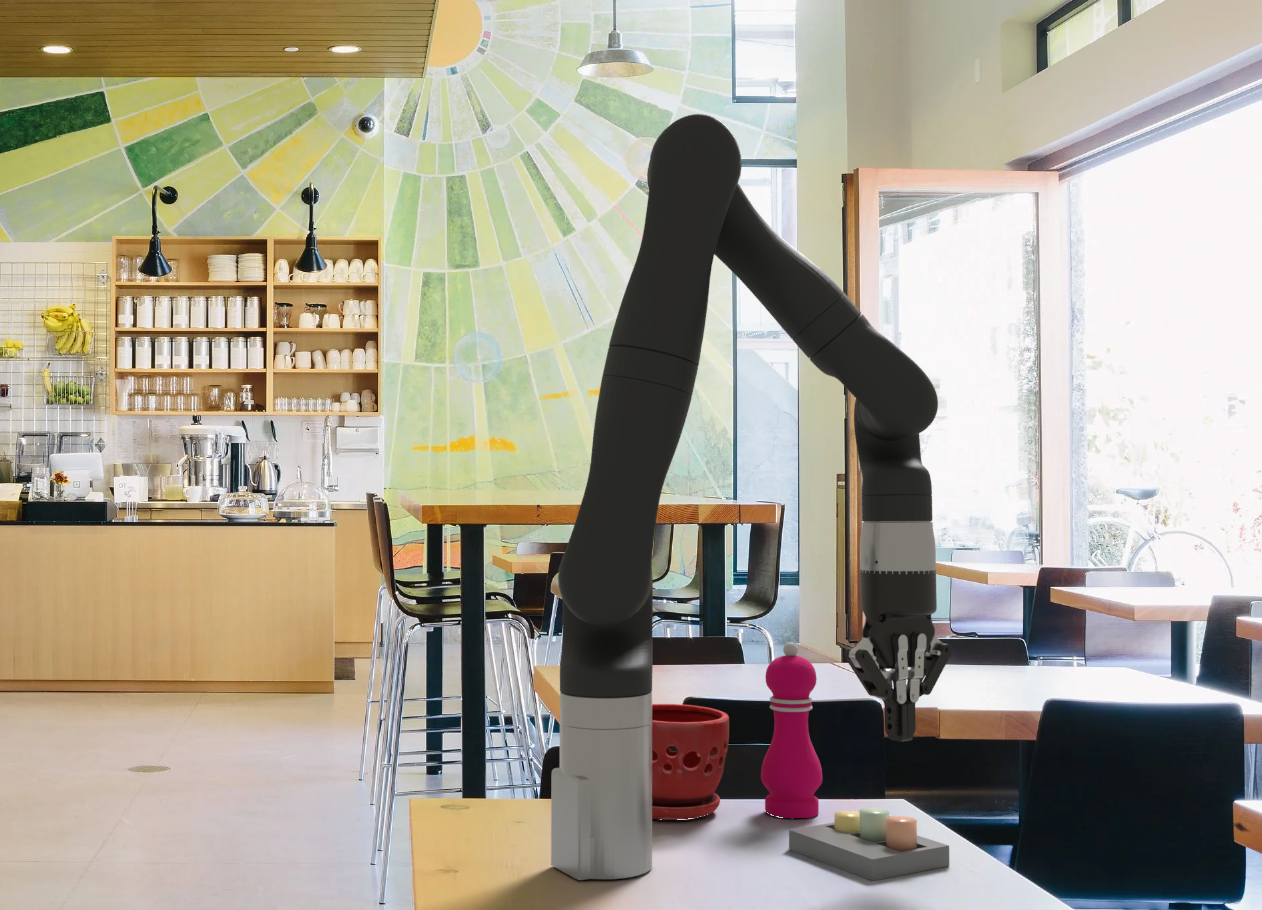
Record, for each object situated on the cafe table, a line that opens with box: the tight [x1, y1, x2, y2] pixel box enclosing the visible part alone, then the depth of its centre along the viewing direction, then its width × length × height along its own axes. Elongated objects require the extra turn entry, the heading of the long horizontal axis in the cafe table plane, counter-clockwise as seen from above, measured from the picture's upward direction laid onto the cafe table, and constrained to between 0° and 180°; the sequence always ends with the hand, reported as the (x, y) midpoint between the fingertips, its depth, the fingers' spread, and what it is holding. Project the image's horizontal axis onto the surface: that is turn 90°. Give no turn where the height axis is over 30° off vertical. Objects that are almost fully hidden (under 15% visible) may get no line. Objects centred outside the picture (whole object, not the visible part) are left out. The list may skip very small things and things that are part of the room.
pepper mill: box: [760, 641, 823, 819], centre depth 144 cm, size 7×7×20 cm
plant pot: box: [652, 703, 730, 821], centre depth 143 cm, size 13×13×12 cm
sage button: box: [858, 807, 890, 842], centre depth 125 cm, size 3×3×3 cm
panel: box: [788, 822, 950, 881], centre depth 124 cm, size 10×13×2 cm
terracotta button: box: [886, 815, 918, 852], centre depth 121 cm, size 3×3×3 cm
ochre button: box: [833, 810, 860, 834], centre depth 128 cm, size 3×3×3 cm
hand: (900, 739), depth 122 cm, fingers closed
